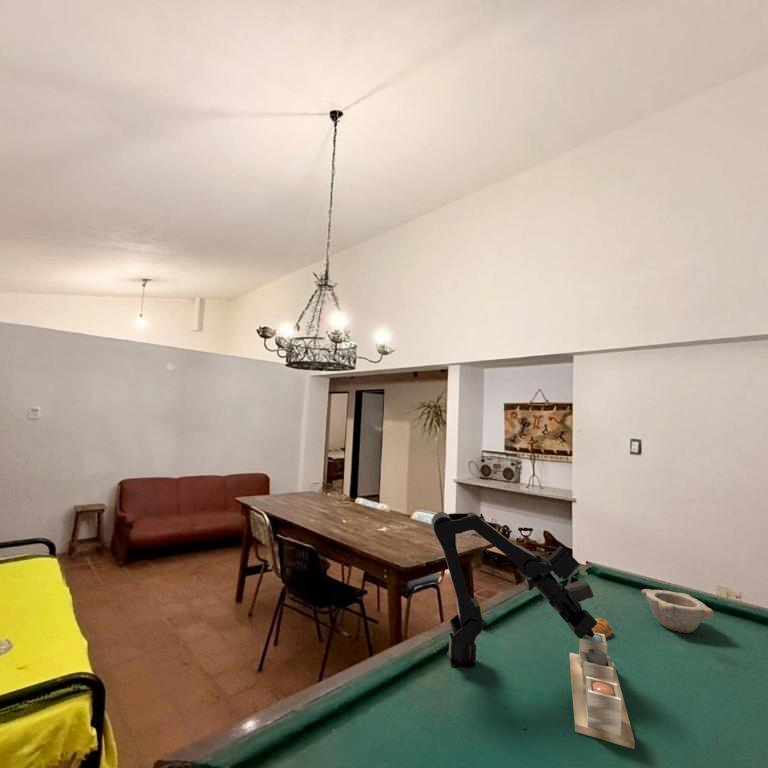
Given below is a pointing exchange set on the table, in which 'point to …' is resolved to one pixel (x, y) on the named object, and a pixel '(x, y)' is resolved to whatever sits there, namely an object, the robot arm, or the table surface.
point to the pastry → (602, 627)
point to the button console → (598, 697)
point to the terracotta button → (602, 688)
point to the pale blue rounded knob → (593, 638)
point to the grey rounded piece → (597, 657)
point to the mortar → (677, 610)
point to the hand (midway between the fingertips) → (592, 635)
